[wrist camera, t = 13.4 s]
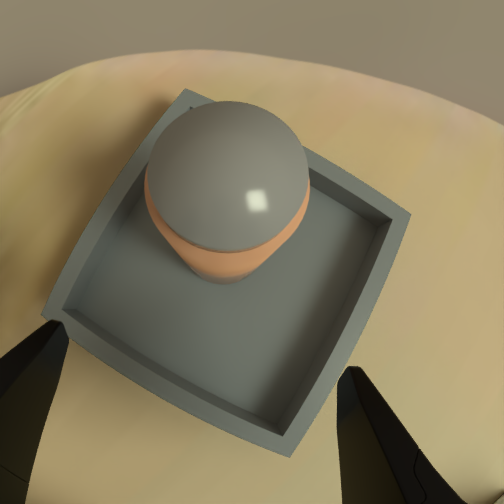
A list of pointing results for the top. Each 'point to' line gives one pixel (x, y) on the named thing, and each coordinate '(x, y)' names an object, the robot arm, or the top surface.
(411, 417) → the top surface
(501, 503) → the syrup box
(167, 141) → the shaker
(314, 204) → the tray
